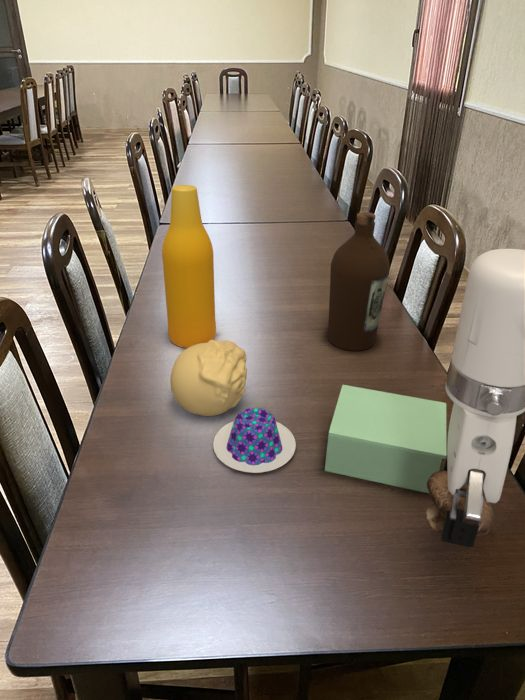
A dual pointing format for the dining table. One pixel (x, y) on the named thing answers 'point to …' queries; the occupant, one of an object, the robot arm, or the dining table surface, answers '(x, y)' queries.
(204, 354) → the sculpture
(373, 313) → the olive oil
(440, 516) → the mushroom
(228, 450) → the pudding
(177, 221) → the beer bottle
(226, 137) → the dining table surface
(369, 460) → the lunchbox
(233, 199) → the dining table surface
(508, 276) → the robot arm
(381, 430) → the green flat panel
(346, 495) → the dining table surface
